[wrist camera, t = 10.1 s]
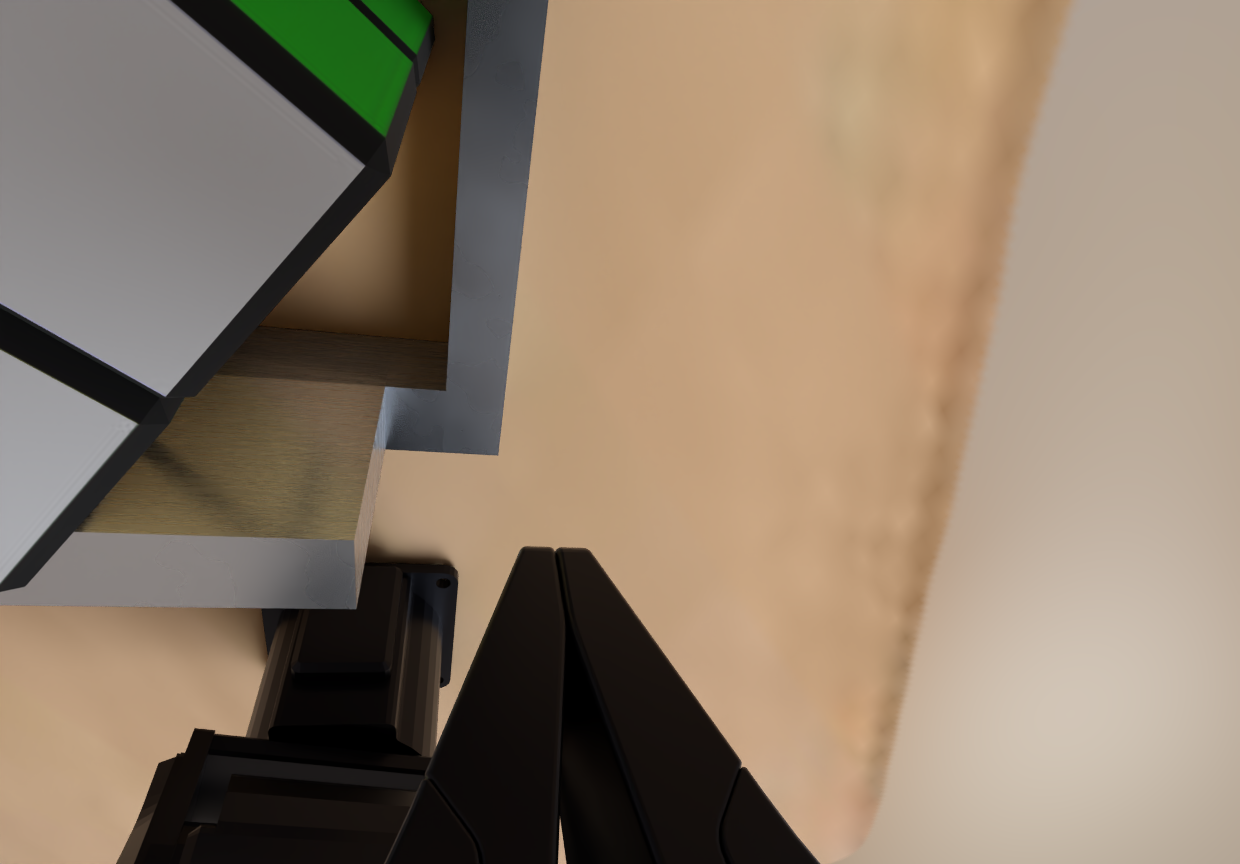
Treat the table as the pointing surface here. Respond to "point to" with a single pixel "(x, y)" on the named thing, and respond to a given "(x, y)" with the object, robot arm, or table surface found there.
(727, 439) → the table surface
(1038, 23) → the table surface
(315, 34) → the puzzle cube
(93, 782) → the table surface
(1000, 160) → the table surface
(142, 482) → the base
